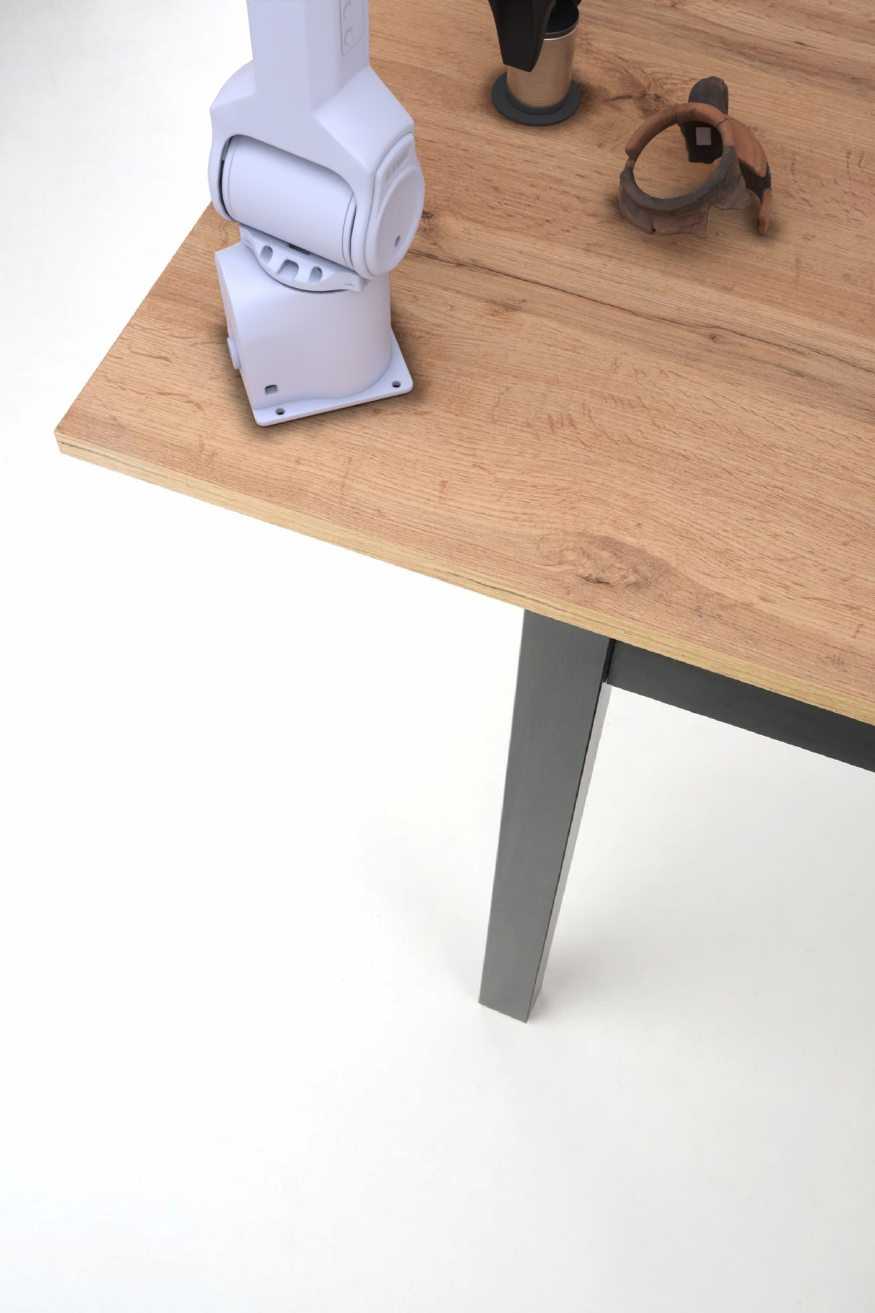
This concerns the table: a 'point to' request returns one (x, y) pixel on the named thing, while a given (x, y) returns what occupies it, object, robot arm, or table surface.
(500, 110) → the trivet
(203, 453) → the table surface
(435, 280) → the table surface
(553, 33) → the steel pot
